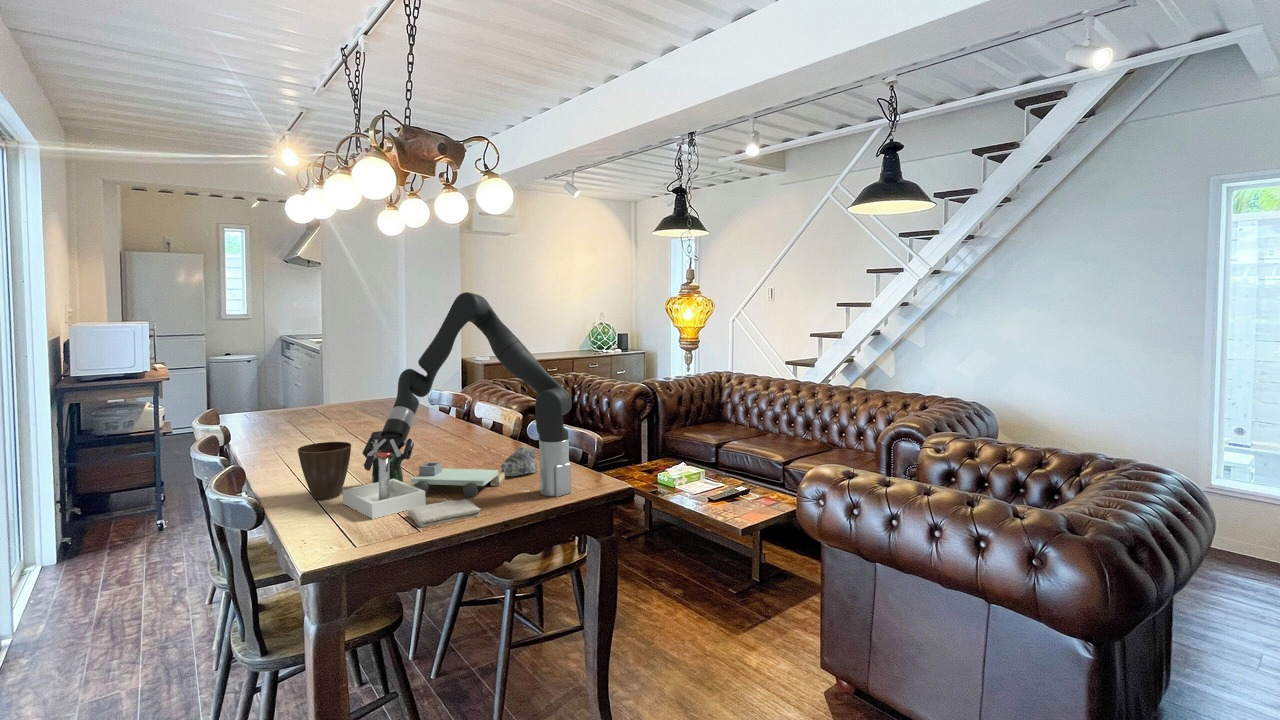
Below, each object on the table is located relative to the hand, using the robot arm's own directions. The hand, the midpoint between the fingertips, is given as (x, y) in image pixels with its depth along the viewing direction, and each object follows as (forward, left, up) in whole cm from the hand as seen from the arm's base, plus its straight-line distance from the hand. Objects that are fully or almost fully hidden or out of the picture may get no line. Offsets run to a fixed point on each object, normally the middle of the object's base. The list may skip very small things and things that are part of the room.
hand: (380, 469), depth 182 cm
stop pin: (+1, -1, -10) cm, 10 cm away
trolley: (-1, -24, -11) cm, 27 cm away
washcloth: (-22, -8, -12) cm, 26 cm away
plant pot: (+23, +7, -11) cm, 26 cm away
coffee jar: (+20, -11, -11) cm, 25 cm away
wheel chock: (-6, -37, -11) cm, 39 cm away
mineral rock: (-2, -48, -11) cm, 50 cm away
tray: (+1, -1, -11) cm, 11 cm away
